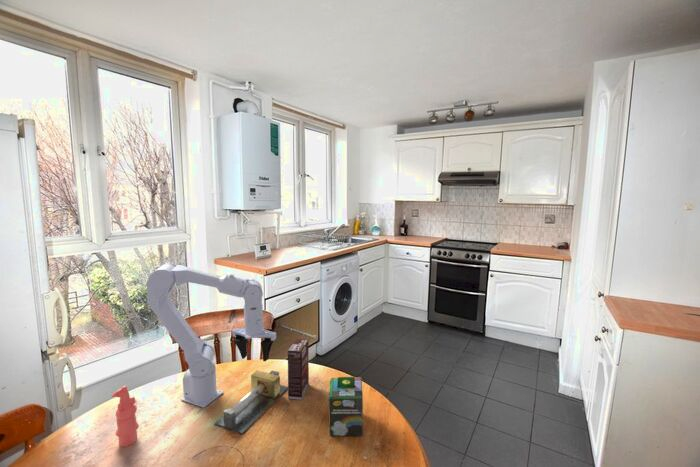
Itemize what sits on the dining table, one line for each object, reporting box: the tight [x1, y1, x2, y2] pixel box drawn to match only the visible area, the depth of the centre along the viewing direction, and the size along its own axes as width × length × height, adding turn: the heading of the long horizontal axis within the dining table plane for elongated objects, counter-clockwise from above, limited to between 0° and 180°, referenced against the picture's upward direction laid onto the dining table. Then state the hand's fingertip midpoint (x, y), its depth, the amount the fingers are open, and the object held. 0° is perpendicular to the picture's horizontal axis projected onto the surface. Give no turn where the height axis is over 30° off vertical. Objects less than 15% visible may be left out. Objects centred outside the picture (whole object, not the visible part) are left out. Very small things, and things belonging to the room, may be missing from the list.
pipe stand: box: [214, 370, 288, 435], centre depth 96 cm, size 22×10×5 cm, turn 158°
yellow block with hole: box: [250, 370, 281, 398], centre depth 101 cm, size 3×9×6 cm, turn 68°
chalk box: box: [328, 376, 364, 437], centre depth 87 cm, size 9×9×15 cm
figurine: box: [111, 385, 140, 448], centre depth 81 cm, size 5×5×15 cm
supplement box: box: [287, 338, 310, 401], centre depth 102 cm, size 9×5×16 cm, turn 173°
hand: (255, 358), depth 103 cm, fingers open, 7 cm apart
